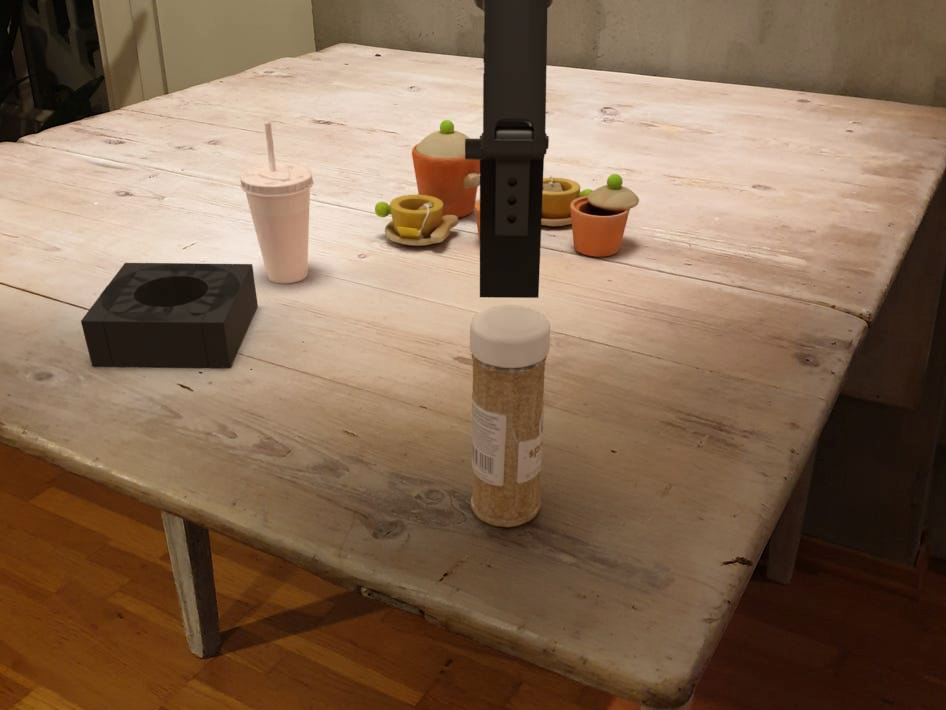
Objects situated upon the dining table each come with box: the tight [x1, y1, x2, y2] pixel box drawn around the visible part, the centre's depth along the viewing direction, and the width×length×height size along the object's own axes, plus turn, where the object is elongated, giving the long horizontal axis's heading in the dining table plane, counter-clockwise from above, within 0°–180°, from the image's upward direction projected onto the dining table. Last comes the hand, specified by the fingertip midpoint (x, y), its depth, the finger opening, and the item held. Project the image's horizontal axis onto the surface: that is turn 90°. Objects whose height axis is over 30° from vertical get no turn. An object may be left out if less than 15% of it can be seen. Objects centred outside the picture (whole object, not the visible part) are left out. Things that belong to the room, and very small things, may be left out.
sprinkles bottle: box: [469, 304, 551, 528], centre depth 58 cm, size 5×5×14 cm
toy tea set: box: [374, 119, 640, 258], centre depth 98 cm, size 26×16×10 cm, turn 81°
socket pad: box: [80, 262, 259, 369], centre depth 80 cm, size 11×11×4 cm
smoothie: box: [239, 121, 314, 285], centre depth 87 cm, size 6×6×14 cm
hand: (507, 238), depth 50 cm, fingers open, 13 cm apart
